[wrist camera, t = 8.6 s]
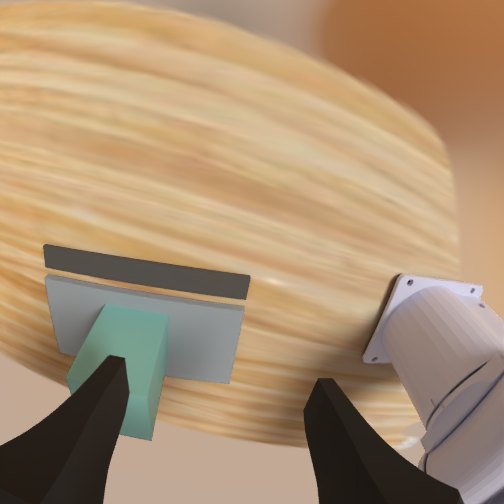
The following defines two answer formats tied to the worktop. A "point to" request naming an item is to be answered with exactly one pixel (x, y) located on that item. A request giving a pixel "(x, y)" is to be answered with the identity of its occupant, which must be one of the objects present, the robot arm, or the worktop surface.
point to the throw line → (147, 272)
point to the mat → (179, 310)
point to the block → (128, 361)
